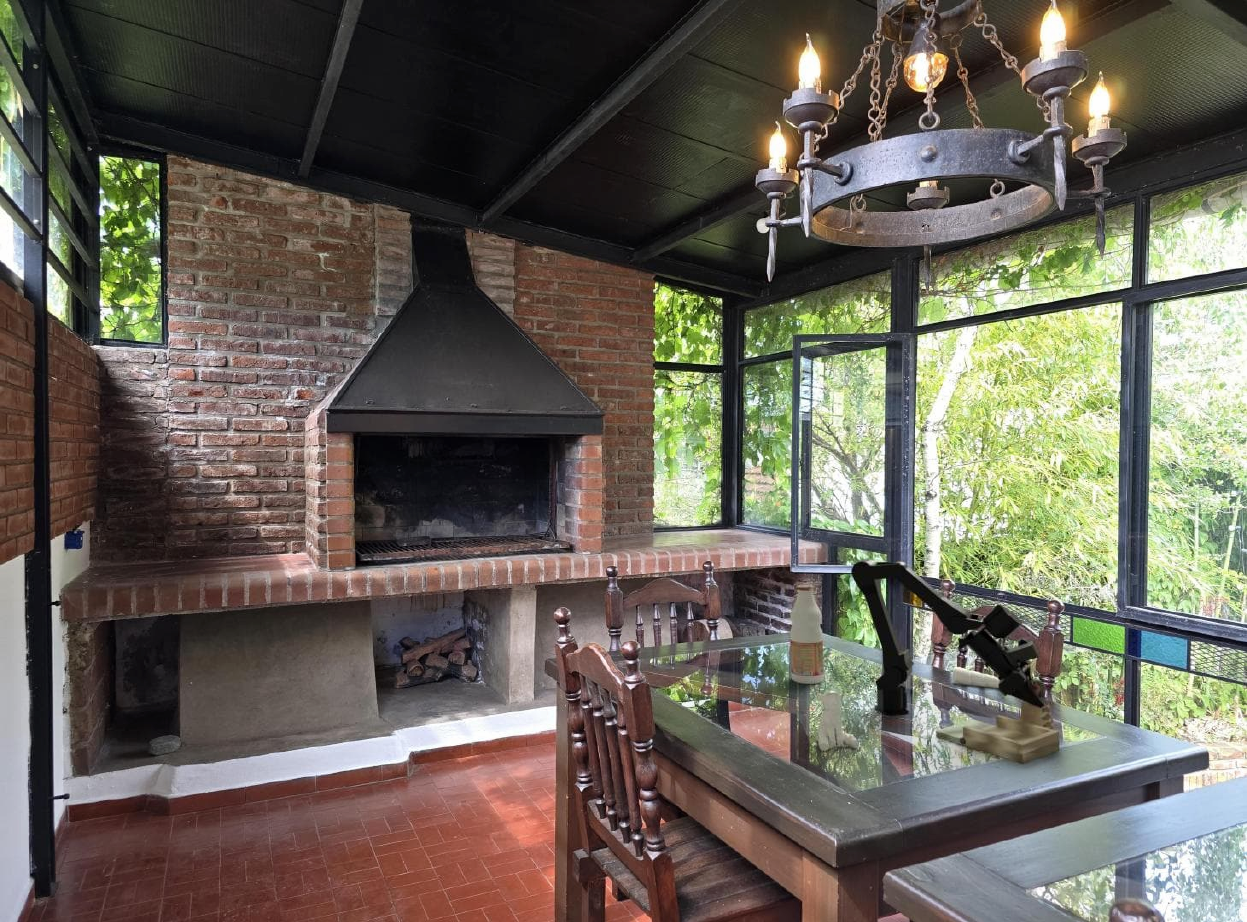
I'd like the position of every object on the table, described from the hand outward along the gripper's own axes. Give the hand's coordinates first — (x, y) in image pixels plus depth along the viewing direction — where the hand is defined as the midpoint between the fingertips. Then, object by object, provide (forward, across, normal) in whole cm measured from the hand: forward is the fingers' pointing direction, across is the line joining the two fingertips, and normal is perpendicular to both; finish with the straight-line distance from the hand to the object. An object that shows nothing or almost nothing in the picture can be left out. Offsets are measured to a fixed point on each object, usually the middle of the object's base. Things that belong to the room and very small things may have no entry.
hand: (1043, 703), depth 184 cm
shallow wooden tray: (-2, -13, +11) cm, 17 cm away
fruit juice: (-39, +19, +49) cm, 66 cm away
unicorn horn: (-4, +34, +15) cm, 38 cm away
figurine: (+4, 0, +6) cm, 7 cm away
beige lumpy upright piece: (-25, -30, +34) cm, 52 cm away
